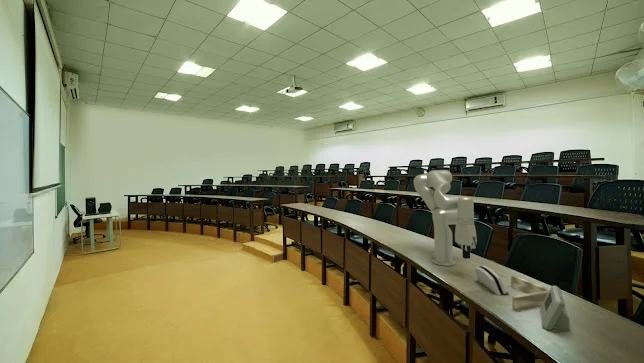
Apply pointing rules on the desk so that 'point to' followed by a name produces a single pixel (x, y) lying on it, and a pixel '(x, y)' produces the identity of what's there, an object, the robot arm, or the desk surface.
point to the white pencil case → (490, 280)
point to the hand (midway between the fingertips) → (466, 258)
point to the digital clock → (554, 310)
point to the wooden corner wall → (533, 296)
